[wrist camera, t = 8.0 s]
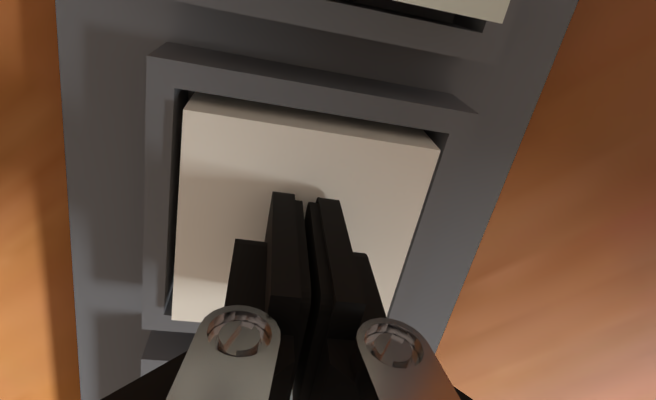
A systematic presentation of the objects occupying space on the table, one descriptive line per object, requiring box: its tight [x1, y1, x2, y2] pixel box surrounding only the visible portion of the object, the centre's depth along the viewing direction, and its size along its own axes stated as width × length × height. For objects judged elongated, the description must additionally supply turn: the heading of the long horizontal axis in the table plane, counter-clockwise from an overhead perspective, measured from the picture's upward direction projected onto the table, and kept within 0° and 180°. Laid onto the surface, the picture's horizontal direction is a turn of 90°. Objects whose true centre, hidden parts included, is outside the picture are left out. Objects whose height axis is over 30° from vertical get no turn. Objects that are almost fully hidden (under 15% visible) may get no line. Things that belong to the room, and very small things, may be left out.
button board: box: [55, 0, 579, 400], centre depth 14 cm, size 13×27×4 cm, turn 169°
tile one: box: [171, 92, 441, 322], centre depth 12 cm, size 6×6×2 cm
